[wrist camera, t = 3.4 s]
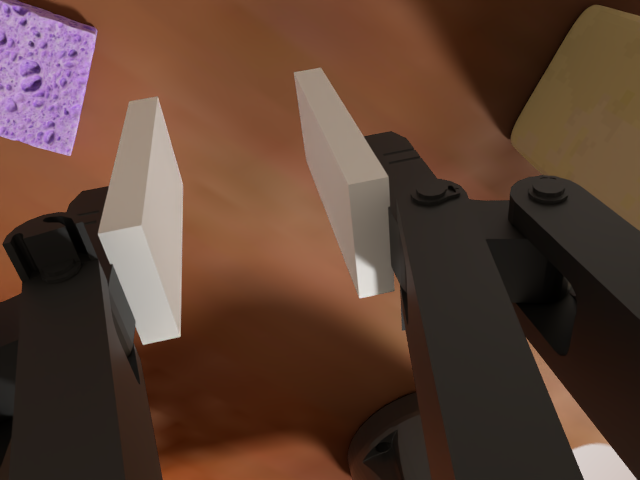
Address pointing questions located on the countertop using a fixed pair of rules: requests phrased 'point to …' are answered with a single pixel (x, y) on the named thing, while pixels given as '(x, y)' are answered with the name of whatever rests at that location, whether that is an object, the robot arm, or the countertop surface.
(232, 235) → the countertop surface
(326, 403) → the countertop surface
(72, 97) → the sponges
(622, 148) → the cheese
